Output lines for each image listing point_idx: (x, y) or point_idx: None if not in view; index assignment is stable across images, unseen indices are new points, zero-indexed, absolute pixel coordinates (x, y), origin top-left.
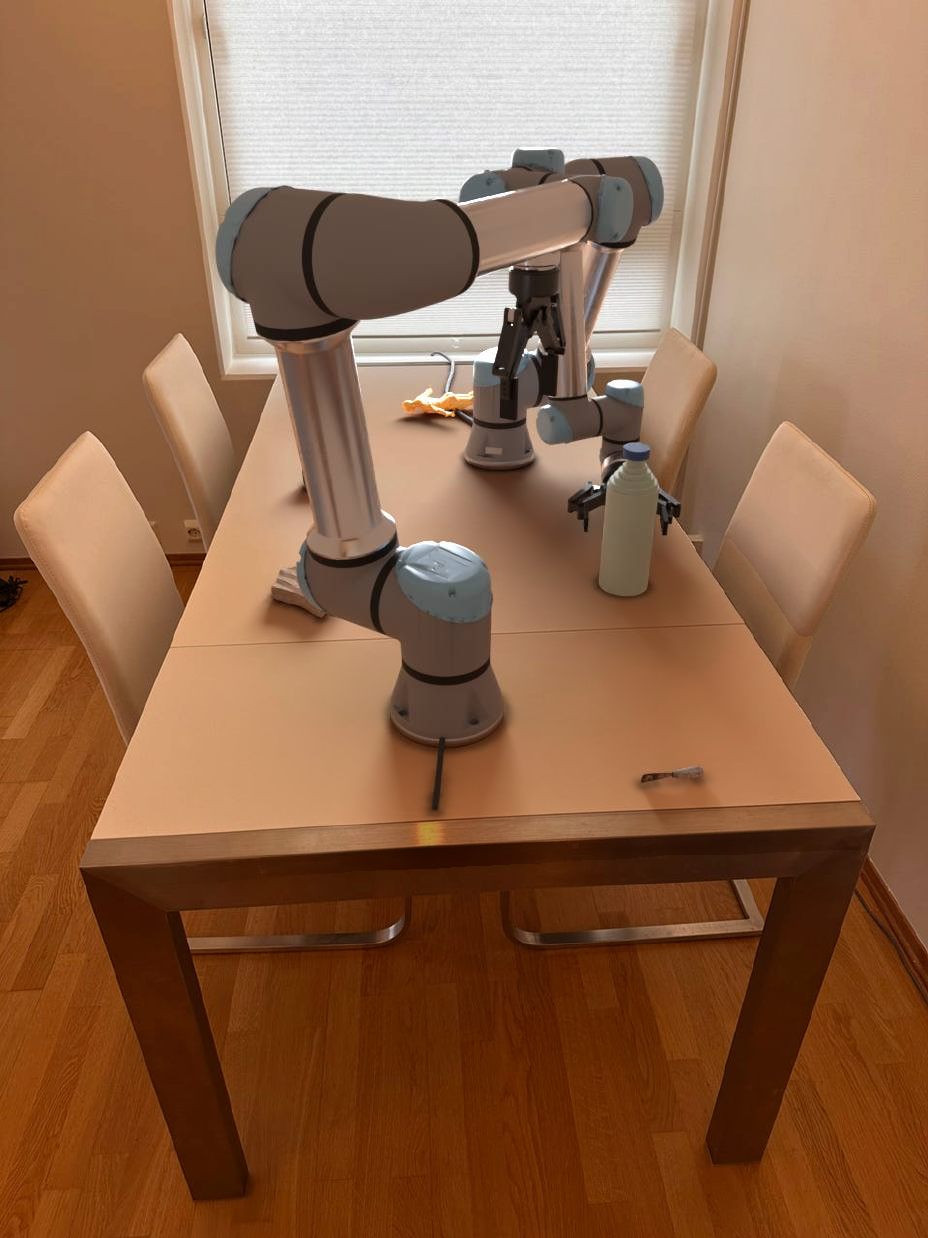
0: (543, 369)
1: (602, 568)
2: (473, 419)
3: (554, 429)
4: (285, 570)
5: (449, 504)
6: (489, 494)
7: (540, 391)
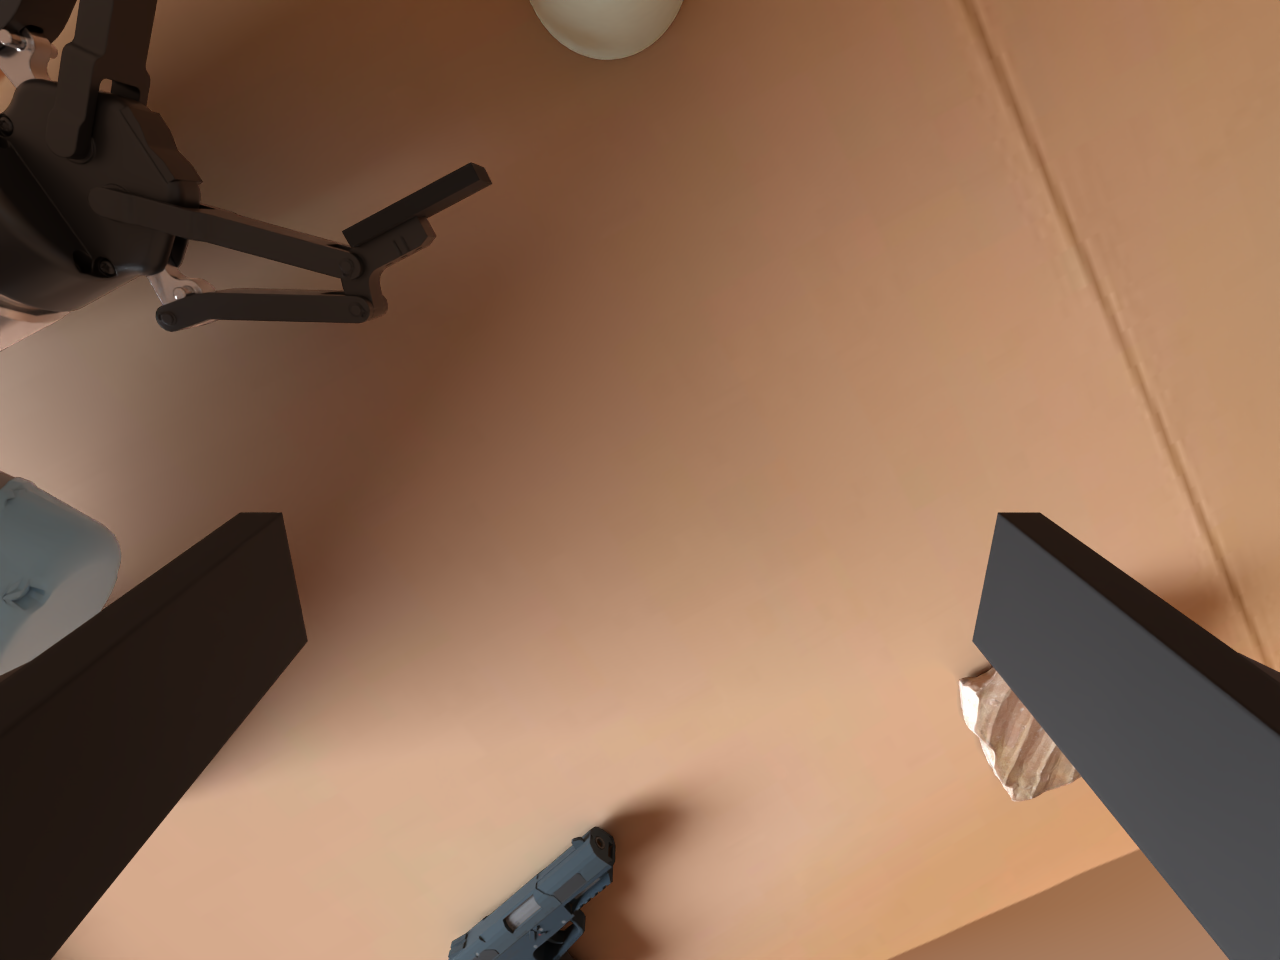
0: (160, 789)
1: (671, 5)
2: None
3: (74, 555)
4: (1028, 789)
5: (442, 688)
6: (313, 634)
7: (294, 651)
